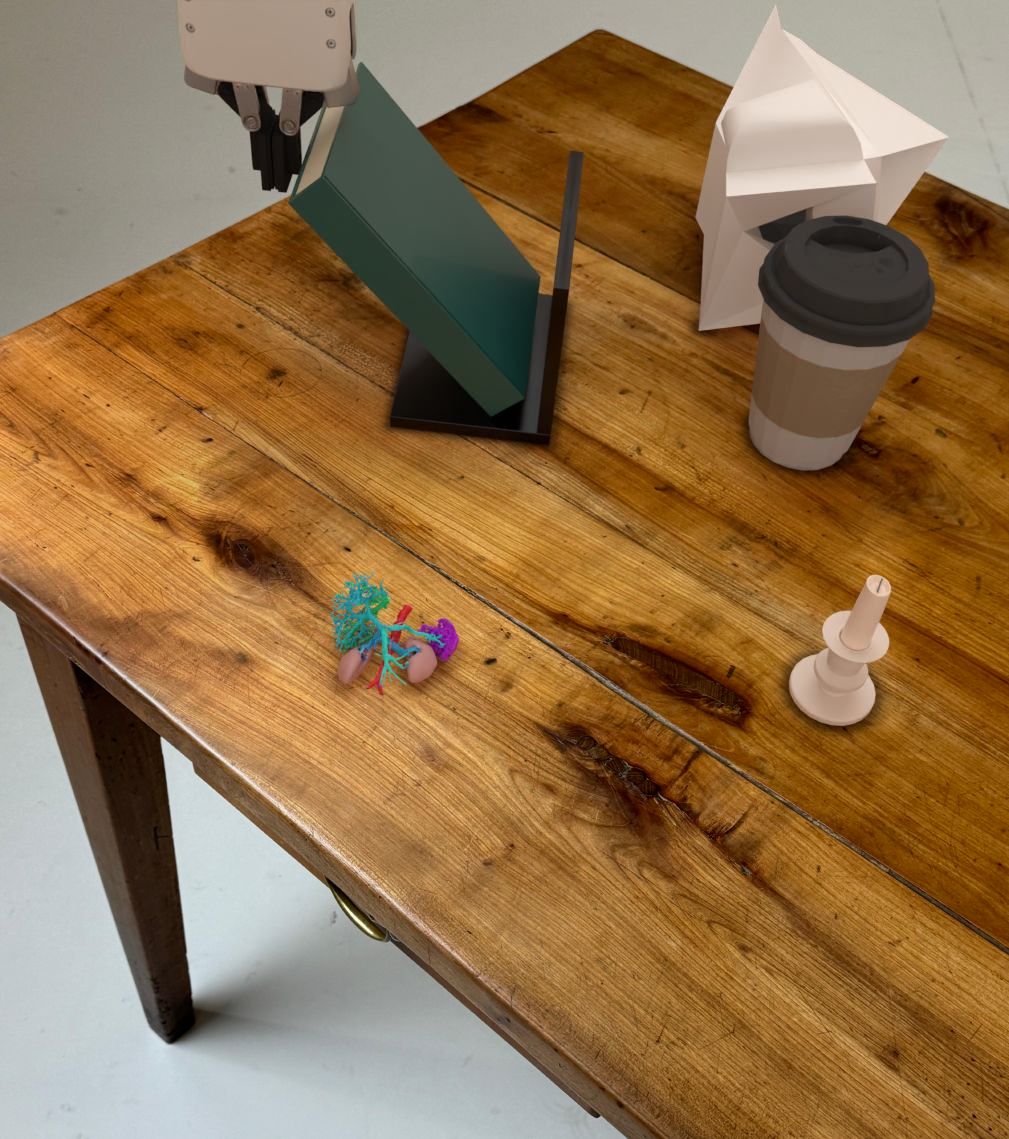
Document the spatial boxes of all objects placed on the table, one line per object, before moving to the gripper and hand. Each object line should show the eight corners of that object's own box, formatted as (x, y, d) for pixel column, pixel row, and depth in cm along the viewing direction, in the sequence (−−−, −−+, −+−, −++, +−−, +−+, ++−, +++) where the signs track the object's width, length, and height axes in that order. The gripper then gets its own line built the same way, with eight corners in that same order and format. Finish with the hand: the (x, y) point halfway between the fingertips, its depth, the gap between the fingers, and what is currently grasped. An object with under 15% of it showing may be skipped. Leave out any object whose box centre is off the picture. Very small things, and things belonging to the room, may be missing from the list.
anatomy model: (436, 681, 71) (466, 583, 74) (297, 652, 71) (333, 556, 75) (438, 726, 75) (465, 631, 79) (307, 697, 76) (340, 605, 79)
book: (287, 203, 78) (322, 177, 76) (329, 86, 86) (361, 61, 85) (490, 417, 89) (525, 398, 88) (509, 295, 98) (540, 276, 96)
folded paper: (757, 141, 84) (996, 159, 87) (682, -27, 98) (889, -6, 102) (690, 351, 97) (900, 360, 100) (632, 176, 112) (817, 189, 115)
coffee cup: (863, 390, 96) (929, 211, 84) (888, 497, 89) (963, 318, 77) (713, 380, 95) (758, 198, 84) (725, 487, 88) (776, 305, 77)
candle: (888, 688, 78) (945, 574, 70) (847, 741, 76) (902, 629, 68) (814, 644, 80) (862, 528, 72) (772, 695, 78) (817, 580, 69)
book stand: (389, 427, 90) (388, 268, 80) (420, 290, 100) (423, 133, 89) (549, 445, 90) (569, 289, 79) (564, 306, 100) (584, 151, 89)
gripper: (402, -139, 72) (398, 163, 87) (139, -169, 72) (179, 138, 86) (384, -84, 68) (383, 225, 82) (102, -117, 67) (151, 199, 82)
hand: (278, 180), depth 84 cm, fingers closed
